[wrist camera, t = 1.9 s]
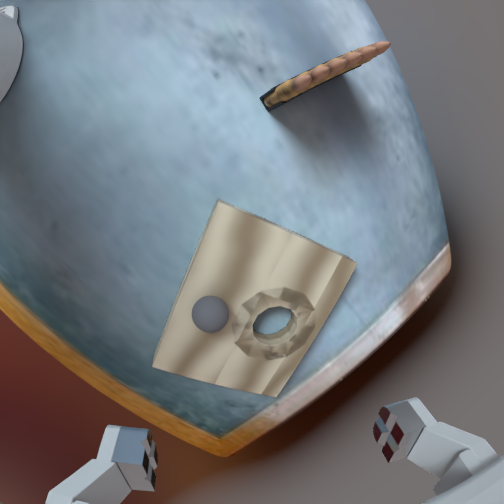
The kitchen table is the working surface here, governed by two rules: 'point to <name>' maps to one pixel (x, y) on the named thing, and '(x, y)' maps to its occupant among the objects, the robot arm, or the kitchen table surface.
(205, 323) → the ball
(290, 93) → the ammunition clip
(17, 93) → the kitchen table surface
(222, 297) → the board
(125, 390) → the kitchen table surface
